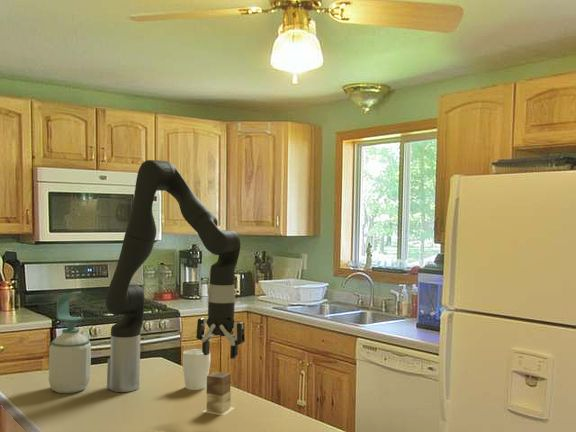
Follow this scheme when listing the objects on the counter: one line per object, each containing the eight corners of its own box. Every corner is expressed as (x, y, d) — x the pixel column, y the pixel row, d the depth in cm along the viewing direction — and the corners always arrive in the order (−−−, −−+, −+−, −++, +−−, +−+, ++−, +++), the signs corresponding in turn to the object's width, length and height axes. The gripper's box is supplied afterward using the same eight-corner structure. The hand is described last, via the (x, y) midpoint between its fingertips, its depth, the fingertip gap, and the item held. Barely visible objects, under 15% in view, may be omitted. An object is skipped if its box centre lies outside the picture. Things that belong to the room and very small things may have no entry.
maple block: (206, 411, 163) (206, 393, 163) (214, 405, 168) (215, 388, 168) (222, 413, 162) (222, 395, 162) (230, 408, 166) (230, 390, 166)
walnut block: (206, 393, 163) (206, 375, 163) (214, 388, 168) (215, 371, 168) (222, 395, 162) (222, 377, 162) (230, 390, 166) (230, 373, 166)
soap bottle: (71, 397, 175) (74, 294, 176) (39, 392, 180) (41, 292, 180) (98, 386, 187) (100, 290, 187) (67, 382, 191) (69, 288, 191)
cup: (204, 394, 181) (205, 355, 181) (177, 391, 183) (178, 354, 183) (213, 386, 190) (214, 349, 190) (187, 384, 192) (188, 347, 192)
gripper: (193, 299, 164) (191, 356, 164) (238, 303, 159) (236, 362, 159) (205, 296, 171) (204, 350, 171) (249, 300, 166) (247, 356, 166)
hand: (219, 356), depth 165 cm, fingers open, 8 cm apart
